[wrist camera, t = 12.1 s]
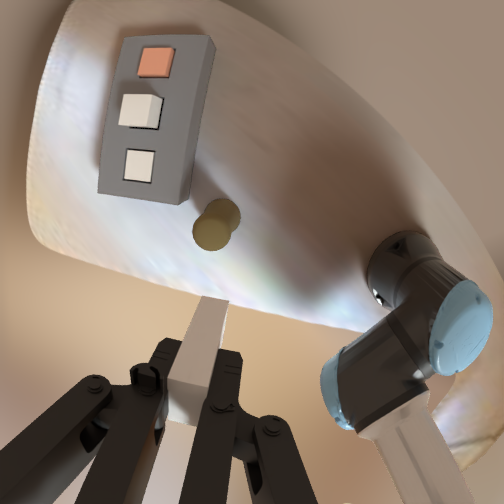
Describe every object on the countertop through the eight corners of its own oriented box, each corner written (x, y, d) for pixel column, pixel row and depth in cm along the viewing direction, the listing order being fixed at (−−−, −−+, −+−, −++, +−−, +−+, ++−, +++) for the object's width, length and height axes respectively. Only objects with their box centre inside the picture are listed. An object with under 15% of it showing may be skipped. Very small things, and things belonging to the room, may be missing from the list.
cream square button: (163, 152, 42) (153, 152, 38) (159, 179, 44) (149, 181, 40) (138, 149, 42) (127, 150, 38) (135, 176, 44) (124, 178, 40)
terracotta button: (179, 55, 36) (171, 47, 32) (173, 80, 37) (164, 74, 33) (153, 55, 36) (144, 48, 32) (147, 80, 37) (137, 74, 33)
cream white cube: (162, 99, 36) (152, 94, 32) (157, 128, 37) (146, 126, 33) (135, 98, 36) (123, 94, 32) (130, 126, 37) (118, 124, 33)
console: (216, 48, 38) (209, 35, 32) (188, 198, 46) (177, 205, 41) (139, 47, 38) (124, 37, 32) (114, 188, 46) (97, 193, 41)
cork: (233, 239, 48) (224, 264, 38) (199, 227, 48) (181, 247, 37) (245, 206, 46) (239, 221, 36) (210, 193, 46) (194, 205, 36)
